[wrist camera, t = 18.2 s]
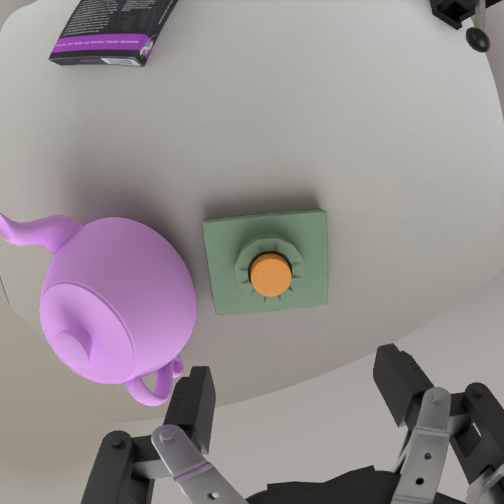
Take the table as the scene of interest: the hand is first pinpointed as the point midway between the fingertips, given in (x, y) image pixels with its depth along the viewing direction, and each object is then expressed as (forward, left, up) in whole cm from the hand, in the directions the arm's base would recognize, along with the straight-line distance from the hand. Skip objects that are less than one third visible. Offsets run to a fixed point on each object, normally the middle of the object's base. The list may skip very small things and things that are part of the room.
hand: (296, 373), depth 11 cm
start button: (0, 0, -14) cm, 14 cm away
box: (+14, -35, -18) cm, 42 cm away
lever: (-30, -33, -11) cm, 46 cm away
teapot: (+17, +1, -18) cm, 25 cm away
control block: (0, 0, -18) cm, 18 cm away
